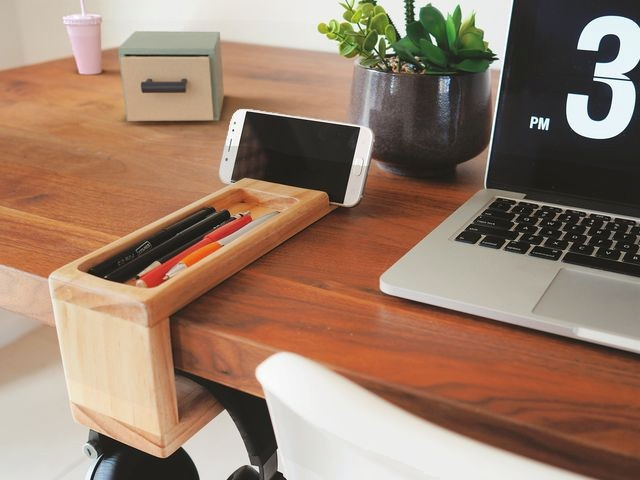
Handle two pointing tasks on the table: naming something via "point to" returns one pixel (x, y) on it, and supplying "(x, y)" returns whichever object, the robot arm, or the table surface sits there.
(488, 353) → the table surface
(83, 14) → the smoothie
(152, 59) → the drawer
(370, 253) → the table surface
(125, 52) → the cabinet
